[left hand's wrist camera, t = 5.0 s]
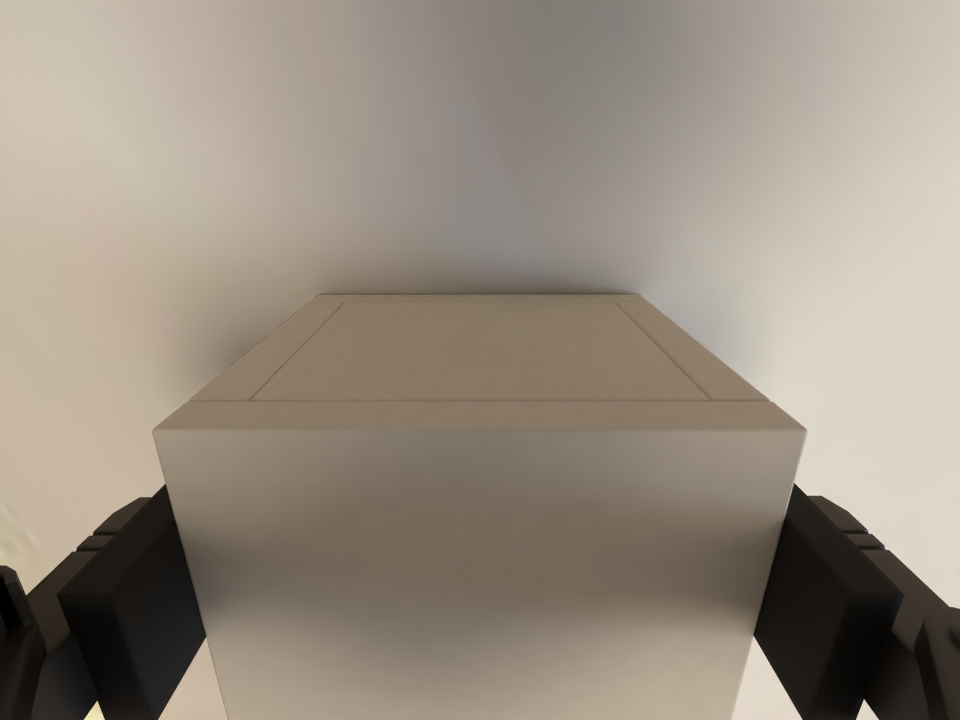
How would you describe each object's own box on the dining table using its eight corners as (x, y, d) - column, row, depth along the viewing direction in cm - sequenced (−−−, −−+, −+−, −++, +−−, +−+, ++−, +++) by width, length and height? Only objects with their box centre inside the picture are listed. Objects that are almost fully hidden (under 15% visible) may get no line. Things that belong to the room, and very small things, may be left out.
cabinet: (594, 688, 23) (661, 991, 14) (364, 688, 23) (298, 991, 14) (640, 294, 16) (810, 429, 8) (318, 293, 16) (149, 429, 8)
